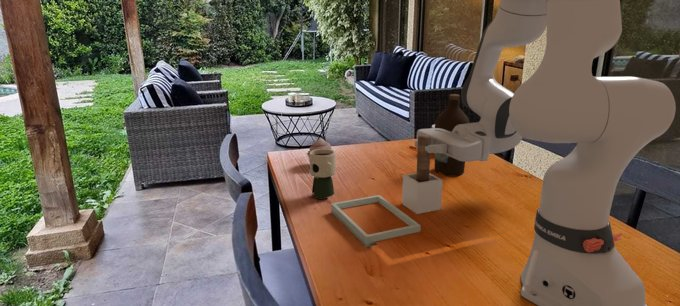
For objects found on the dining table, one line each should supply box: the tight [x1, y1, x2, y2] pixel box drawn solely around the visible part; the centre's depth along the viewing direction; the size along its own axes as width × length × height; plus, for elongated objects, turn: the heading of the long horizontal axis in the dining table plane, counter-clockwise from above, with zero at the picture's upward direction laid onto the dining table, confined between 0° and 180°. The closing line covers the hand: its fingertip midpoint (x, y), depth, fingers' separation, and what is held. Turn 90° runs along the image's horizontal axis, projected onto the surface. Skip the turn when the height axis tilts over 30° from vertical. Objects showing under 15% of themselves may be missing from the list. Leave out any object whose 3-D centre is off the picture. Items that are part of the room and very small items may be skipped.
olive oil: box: [434, 93, 470, 177], centre depth 143 cm, size 11×11×25 cm
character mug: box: [308, 149, 336, 200], centre depth 125 cm, size 11×7×13 cm, turn 26°
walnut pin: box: [416, 135, 431, 183], centre depth 115 cm, size 3×3×16 cm
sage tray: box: [330, 194, 422, 248], centre depth 110 cm, size 20×14×2 cm
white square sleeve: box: [401, 172, 443, 215], centre depth 117 cm, size 7×7×9 cm
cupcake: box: [306, 137, 332, 158], centre depth 151 cm, size 9×9×10 cm
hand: (421, 146), depth 113 cm, fingers closed on walnut pin, 3 cm apart
